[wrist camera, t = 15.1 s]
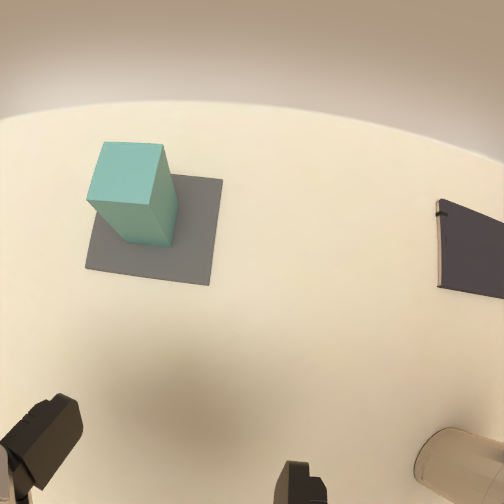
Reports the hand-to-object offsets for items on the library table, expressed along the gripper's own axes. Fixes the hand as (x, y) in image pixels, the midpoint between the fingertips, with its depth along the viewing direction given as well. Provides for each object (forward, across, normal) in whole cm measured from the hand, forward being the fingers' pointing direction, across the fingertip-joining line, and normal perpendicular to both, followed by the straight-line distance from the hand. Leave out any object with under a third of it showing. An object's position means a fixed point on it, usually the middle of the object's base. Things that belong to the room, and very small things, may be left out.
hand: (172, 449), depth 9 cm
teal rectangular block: (+24, +11, -3) cm, 27 cm away
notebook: (+34, -35, -6) cm, 49 cm away
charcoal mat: (+25, +11, -2) cm, 27 cm away
